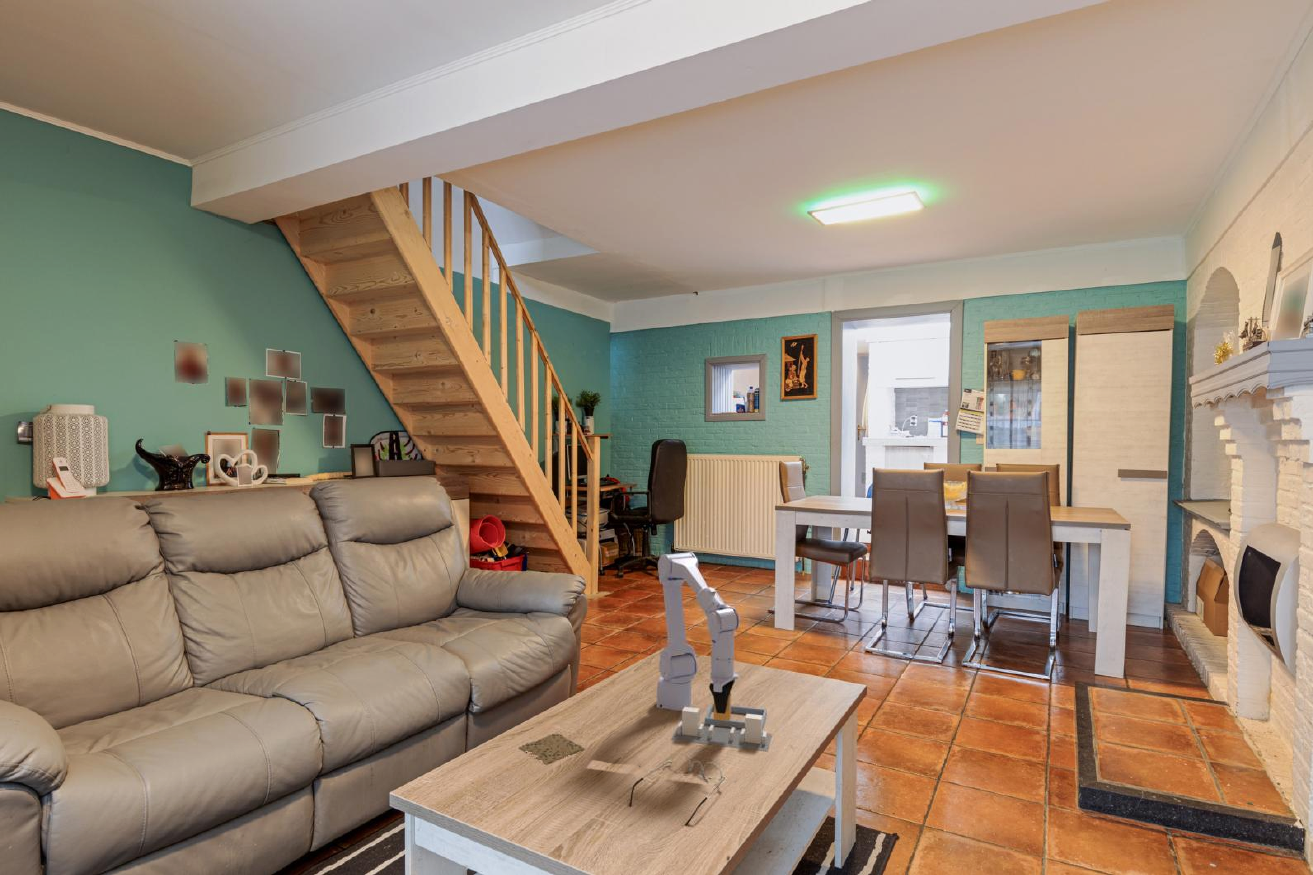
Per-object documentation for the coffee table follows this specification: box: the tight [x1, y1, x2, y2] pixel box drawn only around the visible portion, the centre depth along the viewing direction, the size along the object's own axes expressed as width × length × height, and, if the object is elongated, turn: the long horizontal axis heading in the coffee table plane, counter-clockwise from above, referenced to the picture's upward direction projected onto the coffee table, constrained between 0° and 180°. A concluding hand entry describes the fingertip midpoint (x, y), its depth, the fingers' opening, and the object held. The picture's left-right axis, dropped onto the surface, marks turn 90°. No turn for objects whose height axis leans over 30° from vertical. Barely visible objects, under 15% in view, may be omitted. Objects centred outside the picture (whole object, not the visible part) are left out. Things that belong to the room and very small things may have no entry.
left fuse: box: [681, 706, 701, 736], centre depth 176 cm, size 4×3×6 cm, turn 76°
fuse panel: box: [670, 720, 773, 753], centre depth 174 cm, size 24×10×4 cm, turn 75°
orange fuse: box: [713, 692, 732, 721], centre depth 174 cm, size 4×3×6 cm, turn 76°
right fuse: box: [744, 714, 763, 744], centre depth 172 cm, size 4×3×6 cm, turn 76°
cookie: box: [518, 733, 585, 766], centre depth 170 cm, size 12×12×1 cm
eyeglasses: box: [629, 753, 726, 826], centre depth 149 cm, size 16×19×5 cm
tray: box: [704, 702, 767, 732], centre depth 185 cm, size 15×10×3 cm
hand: (722, 710), depth 174 cm, fingers closed on orange fuse, 3 cm apart
